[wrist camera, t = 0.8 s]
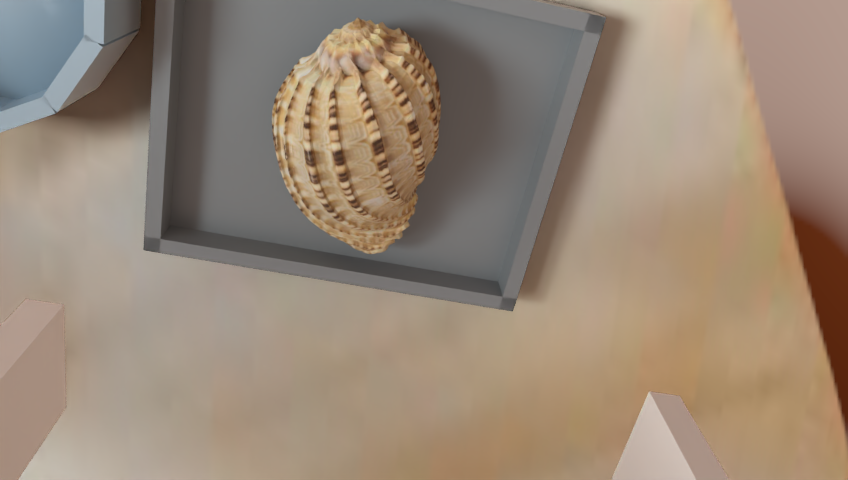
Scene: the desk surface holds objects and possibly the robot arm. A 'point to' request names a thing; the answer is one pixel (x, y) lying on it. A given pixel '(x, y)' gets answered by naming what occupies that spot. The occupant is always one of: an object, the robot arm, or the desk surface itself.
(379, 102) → the seashell
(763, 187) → the desk surface
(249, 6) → the tray
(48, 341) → the robot arm
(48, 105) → the bowl
